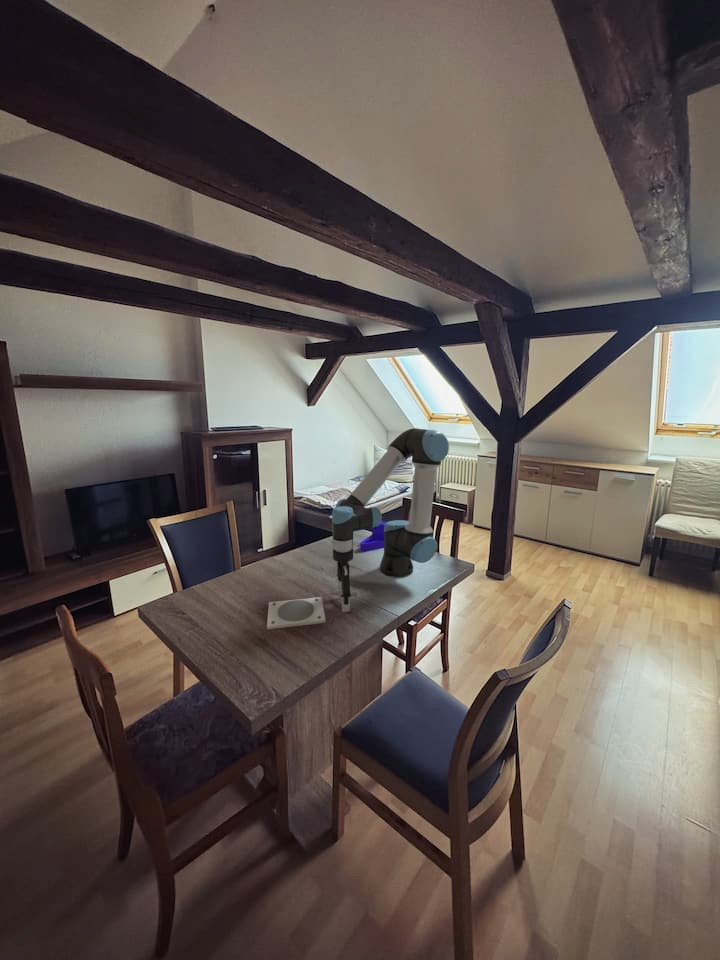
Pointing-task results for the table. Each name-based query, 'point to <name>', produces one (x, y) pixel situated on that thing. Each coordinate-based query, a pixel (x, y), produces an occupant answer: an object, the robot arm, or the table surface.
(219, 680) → the table surface
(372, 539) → the bracket
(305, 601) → the duct panel
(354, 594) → the pipe connector
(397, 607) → the table surface
